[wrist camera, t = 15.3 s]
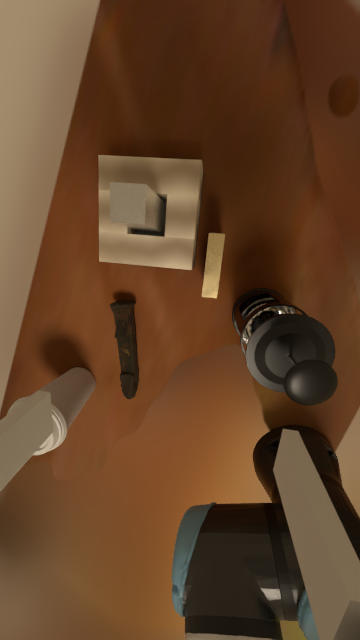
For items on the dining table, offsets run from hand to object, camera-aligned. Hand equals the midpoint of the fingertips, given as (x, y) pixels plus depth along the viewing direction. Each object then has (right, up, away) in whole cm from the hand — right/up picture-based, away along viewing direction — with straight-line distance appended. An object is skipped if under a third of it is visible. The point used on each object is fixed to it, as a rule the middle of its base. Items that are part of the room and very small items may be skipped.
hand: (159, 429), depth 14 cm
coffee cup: (-19, -6, +37) cm, 42 cm away
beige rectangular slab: (+7, +16, +27) cm, 32 cm away
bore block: (-3, +23, +26) cm, 35 cm away
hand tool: (-8, +1, +33) cm, 34 cm away
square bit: (-3, +22, +24) cm, 33 cm away
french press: (+15, +7, +28) cm, 33 cm away
